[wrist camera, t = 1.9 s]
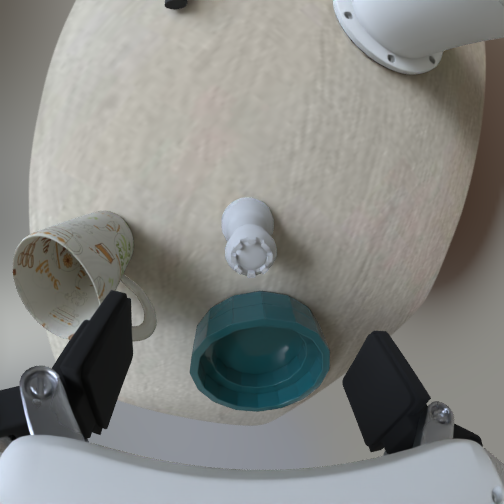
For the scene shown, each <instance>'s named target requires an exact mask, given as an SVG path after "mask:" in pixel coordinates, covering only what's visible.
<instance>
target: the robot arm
mask: <svg viewBox="0 0 504 504" xmlns="http://www.w3.org/2000/svg"><path fill="white" fill-rule="evenodd" d="M333 6H334V10H335V13H336V16H337V18H338V20H339V22H340V24H341V26H342V28H343V29H344V31H345V32H346V34H347V35H348V36H349V38H350V39H351V40H352V41H353V42H354V43H355V44H356V45H357V47H359V48H360V49H361V50H362V51H363V52H364V53H365V54H366V55H368V56H369V57H370V58H372V59H373V60H375V61H376V62H377V63H379V64H381V65H383V66H385V67H387V68H388V69H391V70H394V71H396V72H399V73H404V74H420V73H425V72H428V71H430V70H432V69H434V68H435V67H436V66H437V65H438V63H439V62H440V60H441V58H442V54H443V51H444V50H448V49H452V48H455V47H459V46H463V45H468V44H472V43H477V42H481V41H486V40H491V39H497V38H503V37H504V0H333ZM132 357H133V343H132V320H131V299H130V298H127V295H126V293H122V292H118V291H114V290H111V291H110V292H109V293H108V295H107V296H106V297H105V299H104V300H103V302H102V303H101V304H100V306H99V307H98V309H97V310H96V311H95V313H94V314H93V316H92V317H91V319H90V320H87V319H86V320H84V321H83V322H82V323H81V325H80V326H79V328H78V329H77V331H76V332H75V333H74V335H73V336H72V338H71V339H70V341H69V342H68V344H67V345H66V347H65V348H64V350H63V352H62V353H61V355H60V356H59V358H58V359H57V361H56V363H55V364H54V366H53V367H52V369H51V368H49V367H45V366H35V367H31V368H29V369H28V370H26V371H25V372H24V373H23V375H22V376H21V379H20V386H17V387H13V388H9V389H4V390H0V504H504V464H503V463H502V462H501V461H499V460H498V459H497V458H496V457H494V456H493V455H492V454H491V453H490V452H489V451H487V450H486V449H485V448H483V445H482V442H481V438H480V437H479V436H478V435H476V434H474V433H473V432H470V431H468V430H466V429H464V428H462V427H460V426H458V425H456V424H454V415H453V412H452V411H451V409H450V408H449V407H448V406H447V405H445V404H444V403H442V402H437V401H435V402H432V403H431V404H430V405H429V406H427V404H426V403H427V402H428V401H429V400H430V399H431V398H430V396H429V394H428V393H427V391H426V390H425V388H424V387H423V385H422V383H421V382H420V380H419V379H418V377H417V375H416V374H415V372H414V371H413V369H412V368H411V367H410V365H409V364H408V362H407V360H406V359H405V357H404V356H403V354H402V353H401V351H400V350H399V348H398V347H397V346H396V344H395V343H394V341H393V340H392V338H391V337H390V335H389V334H388V333H387V332H386V331H373V332H372V333H371V334H369V335H368V336H367V338H366V340H365V342H364V344H363V345H362V347H361V349H360V351H359V353H358V354H357V356H356V358H355V360H354V361H353V363H352V365H351V366H350V368H349V370H348V371H347V373H346V375H345V376H344V378H343V387H344V389H345V392H346V395H347V397H348V400H349V402H350V405H351V407H352V410H353V412H354V415H355V418H356V420H357V423H358V426H359V428H360V431H361V433H362V436H363V439H364V442H365V444H366V445H367V446H369V449H370V451H371V452H374V451H378V450H381V449H383V448H385V452H384V455H383V456H381V457H377V458H372V459H367V460H362V461H357V462H351V463H346V464H339V465H332V466H324V467H316V468H315V467H314V468H303V469H287V470H240V469H239V470H238V469H223V468H211V467H202V466H193V465H187V464H180V463H175V462H169V461H163V460H157V459H153V458H148V457H143V456H139V455H135V454H131V453H127V452H123V451H120V450H116V449H112V448H108V447H104V446H101V445H97V444H93V443H89V441H88V439H87V438H90V437H91V433H92V432H93V433H96V434H99V435H100V434H101V431H102V428H104V429H107V427H108V425H109V422H110V419H111V416H112V413H113V410H114V407H115V404H116V402H117V399H118V396H119V393H120V390H121V388H122V385H123V382H124V379H125V377H126V374H127V371H128V369H129V366H130V364H131V361H132Z"/></svg>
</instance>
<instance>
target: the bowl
mask: <svg viewBox="0 0 504 504" xmlns="http://www.w3.org/2000/svg"><path fill="white" fill-rule="evenodd" d="M329 369H330V350H329V347H328V345H327V342H326V340H325V337H324V335H323V332H322V330H321V327H320V325H319V323H318V321H317V320H316V318H315V317H314V315H313V314H312V312H311V310H310V309H309V308H308V307H307V306H305V305H304V304H302V303H300V302H298V301H297V300H295V299H293V298H292V297H290V296H288V295H283V294H277V293H271V292H264V291H257V292H252V293H246V294H240V295H234V296H232V297H230V298H228V299H226V300H225V301H223V302H221V303H219V304H217V305H216V306H214V307H212V308H211V309H209V311H208V312H207V313H206V315H205V316H204V317H203V319H202V320H201V321H200V323H199V324H198V325H197V329H196V334H195V340H194V345H193V351H192V357H191V365H190V374H191V376H192V379H193V381H194V383H195V385H196V386H197V388H198V390H199V391H200V392H202V393H203V394H204V395H206V396H207V397H208V398H209V399H211V400H212V401H213V402H215V403H218V404H221V405H223V406H226V407H229V408H232V409H235V410H244V411H256V412H258V411H265V410H272V409H278V408H283V407H285V406H288V405H290V404H293V403H295V402H298V401H300V400H302V399H304V398H305V397H307V396H308V395H309V394H310V393H312V392H313V391H314V390H315V389H317V388H318V387H319V386H320V385H321V383H322V381H323V380H324V378H325V376H326V374H327V373H328V371H329Z"/></svg>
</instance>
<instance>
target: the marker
mask: <svg viewBox="0 0 504 504" xmlns="http://www.w3.org/2000/svg"><path fill="white" fill-rule="evenodd" d="M186 5H187V0H165V7H166V8H169V9H180V8H183V7H185V6H186Z"/></svg>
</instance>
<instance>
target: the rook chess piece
mask: <svg viewBox="0 0 504 504" xmlns="http://www.w3.org/2000/svg"><path fill="white" fill-rule="evenodd" d="M273 229H274V220H273V216H272V213H271V211H270V208H269V207H268V206H267V205H266V204H265V203H264V202H262V201H260V200H258V199H255V198H240V199H238V200H235V201H233V202H232V203H231V204H230V205H229V206H228V207H227V208H226V209H225V211H224V214H223V216H222V232H223V234H224V236H225V238H226V240H227V241H228V243H227V245H226V247H225V258H226V260H227V262H228V264H229V266H230V267H231V268H232V269H233V270H235V271H236V272H237V273H239V274H243V275H246V276H248V278H250V277H255V275H258V274H261V273H262V274H264V273H265V272H267V271H268V270H269V268H270V267H271V266H272V265H273V263H274V261H275V259H276V254H277V247H276V244H275V242H274V239H273V238H272V237H271V235H272V233H273Z"/></svg>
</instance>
